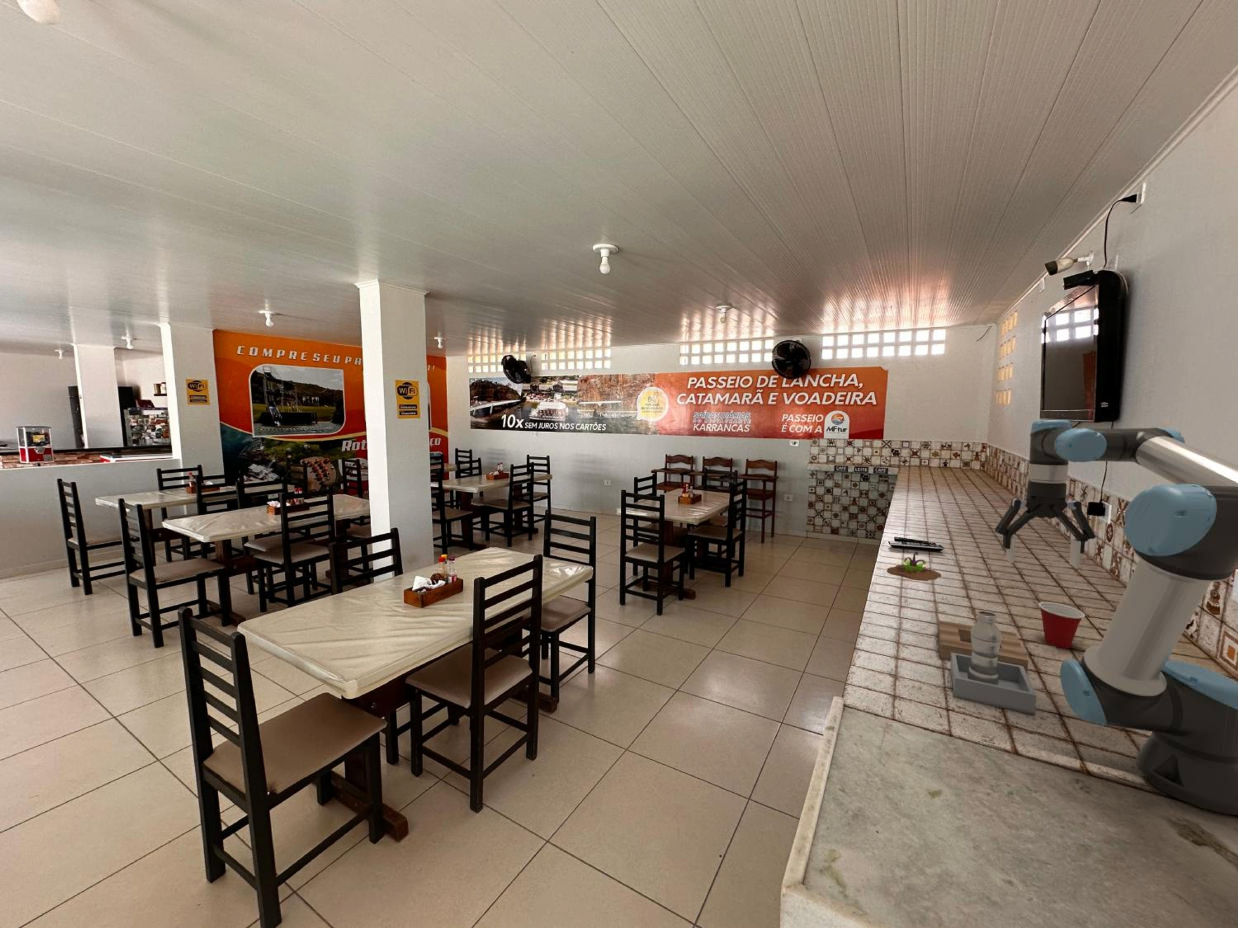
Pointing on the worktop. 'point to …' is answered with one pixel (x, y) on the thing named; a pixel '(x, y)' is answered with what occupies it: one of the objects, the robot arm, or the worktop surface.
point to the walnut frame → (959, 642)
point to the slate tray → (994, 686)
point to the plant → (914, 570)
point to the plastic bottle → (985, 649)
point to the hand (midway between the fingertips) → (1041, 563)
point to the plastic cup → (1059, 623)
